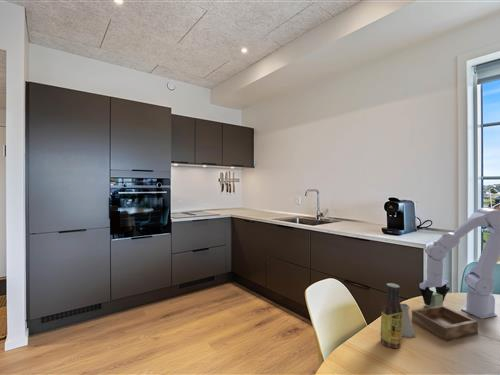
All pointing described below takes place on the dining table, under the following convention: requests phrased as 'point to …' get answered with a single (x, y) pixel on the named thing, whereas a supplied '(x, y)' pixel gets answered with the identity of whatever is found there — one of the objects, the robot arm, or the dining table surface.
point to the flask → (406, 322)
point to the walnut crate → (445, 322)
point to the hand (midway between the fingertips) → (433, 303)
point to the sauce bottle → (391, 317)
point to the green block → (436, 300)
